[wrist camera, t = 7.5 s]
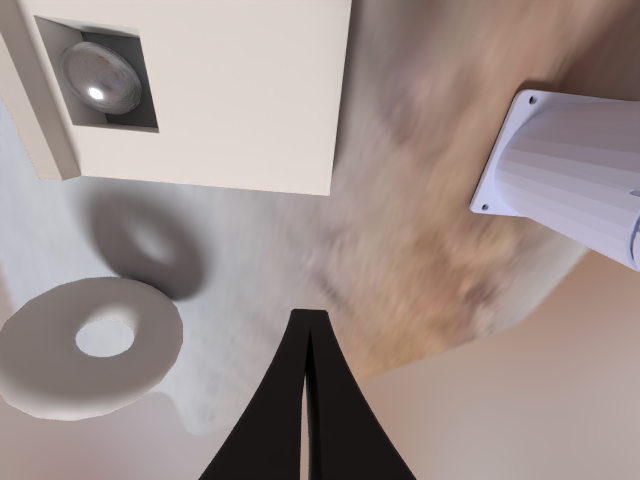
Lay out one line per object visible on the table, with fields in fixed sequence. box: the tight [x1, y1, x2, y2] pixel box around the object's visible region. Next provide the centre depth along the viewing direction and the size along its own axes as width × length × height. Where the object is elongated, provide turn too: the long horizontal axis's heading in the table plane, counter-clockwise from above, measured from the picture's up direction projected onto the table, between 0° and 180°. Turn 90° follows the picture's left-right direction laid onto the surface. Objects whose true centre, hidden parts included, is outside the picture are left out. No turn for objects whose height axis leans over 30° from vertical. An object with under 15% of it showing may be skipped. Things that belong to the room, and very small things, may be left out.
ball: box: [60, 42, 142, 114], centre depth 13 cm, size 3×3×3 cm
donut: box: [0, 277, 183, 421], centre depth 17 cm, size 10×4×10 cm, turn 51°
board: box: [0, 0, 352, 196], centre depth 13 cm, size 16×10×4 cm, turn 85°
